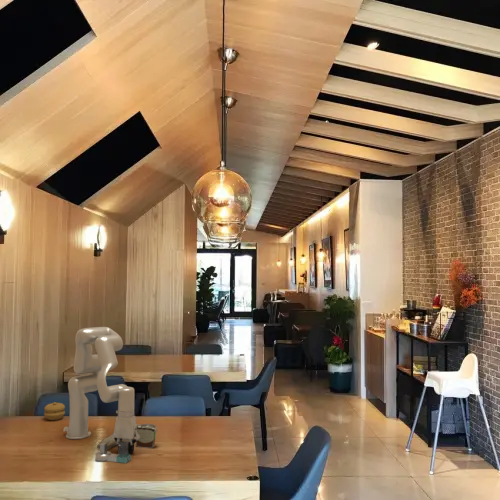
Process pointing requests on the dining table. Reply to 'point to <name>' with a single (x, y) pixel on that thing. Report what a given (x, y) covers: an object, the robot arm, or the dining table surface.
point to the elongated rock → (108, 442)
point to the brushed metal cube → (123, 446)
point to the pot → (54, 411)
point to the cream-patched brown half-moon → (146, 435)
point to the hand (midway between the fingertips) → (125, 451)
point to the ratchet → (111, 455)
